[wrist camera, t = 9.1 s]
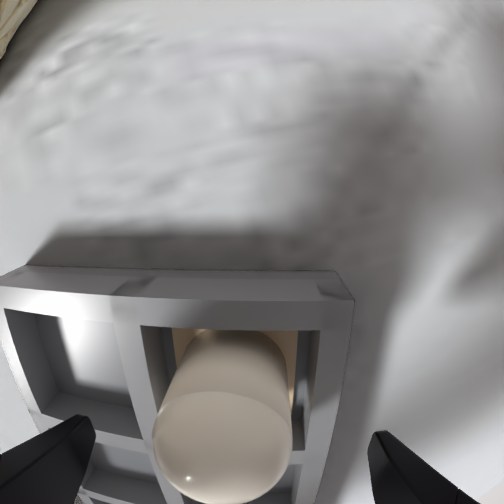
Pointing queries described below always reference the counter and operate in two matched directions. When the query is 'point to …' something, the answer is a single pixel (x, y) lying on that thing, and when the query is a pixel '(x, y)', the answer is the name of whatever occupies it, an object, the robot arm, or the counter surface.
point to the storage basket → (12, 19)
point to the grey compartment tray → (168, 360)
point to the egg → (225, 418)
